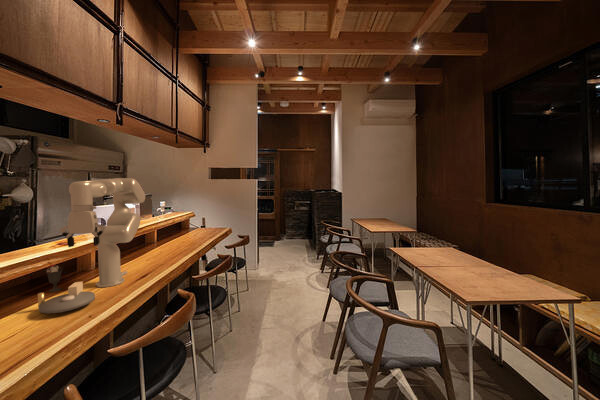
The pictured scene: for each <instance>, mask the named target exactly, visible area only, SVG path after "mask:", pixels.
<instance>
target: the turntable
mask: <svg viewBox="0 0 600 400" xmlns="http://www.w3.org/2000/svg"><path fill="white" fill-rule="evenodd" d="M83 283H84V281H75V282H74V283H72V284H71V285H69V286H68V287H67V293H65V294H61V295H58V296H55V297H51V298H49V299H47V300H45V302H43V303H41V304H40V305H39V310H38V311H39V312H40V313H41V314H57V313H59V314H60V313H65V312H64V311H67V312H70V311H69V310H71V311H74V310H76V309H78V308H81V307H84V306H86V305H89V304H91V303H93V302H94V301H95V299H96V294H95V293H94V292H93V291H83V290H84V284H83ZM73 309H74V310H73Z"/></svg>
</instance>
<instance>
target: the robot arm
mask: <svg viewBox="0 0 600 400" xmlns="http://www.w3.org/2000/svg"><path fill="white" fill-rule="evenodd" d="M68 192H69V194H70V203H71V205H70V206H71V211H70V212H69V214H68V219H67V221H68V222H67V225H65V226H62V227H61V228H59V232H60V233H61V235H62V236H64V237H65V239H66V240H67V246H68V248H71V247H74V246H75V237H74V236H75V235H82V234H83V235H85V234H91V235H93V246H95V247H96V246H97V259H98V278H99V279H98V280H99V281H97V282H96V283H95V286H96V287H97V288H109V287H114V286H118V285H121V284H123V283H124V282H125V278H124V277H123V276H125V275H127V274H128V270H124V271H122V268H121V251H120V250H121V249H120V248H119V246H118V245H117V244H125V243H130V242H131V241H132V240H133V239H134V237H135V236H136V234H137V232H138V230H139V228H140V224H141V217H140V215H138V213H134V212H131V209H130V207H128V206H127V204H129V205H131V204H143V203H144V202H145V200H146V193H145V191H144V190H143V188H142V186H141V184H140V183H139V182H138V181H137V180H136V179H135V178H132V177H129V178H128V177H127V178H126V177H125V178H124V177H114V178H107V179H104V178H103V179H95V180H93V179H92V180H82V181H72V183H70V184H69V187H68ZM110 195H112V202H113V208H114V210H112V211H113V212H112V213H111V214H110V215H109V217H108V219H107V221H106V225H102V224H100V223H99V221H98V217H97V212H96V211H95V210H96V209H97V206H96V205H94V200H93V199H94V198H101V197H104V196H110ZM66 230H67V231H68V232H67V231H66Z"/></svg>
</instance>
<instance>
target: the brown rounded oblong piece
mask: <svg viewBox="0 0 600 400" xmlns="http://www.w3.org/2000/svg"><path fill="white" fill-rule="evenodd" d="M45 301H46V300H45V292H38V293H37V305H38V311H39V305H40V304H41V303H43V302H45ZM74 310H75V309H73V310H69V311H64V312H63V313H66V312H71V311H74Z"/></svg>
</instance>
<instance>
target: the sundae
mask: <svg viewBox="0 0 600 400" xmlns="http://www.w3.org/2000/svg"><path fill="white" fill-rule="evenodd" d="M47 264H49V266H48V268H47V270H46V271H45V272H44V273H45V274H46V275H47V278H48V282H49V283H50V284H52V285H53V287H52V289H50V290H48V293H55V292H60V291H62V288H63V287H58V286H57V285H58V283H59V282H60V281H61V277H62V272H63V271H64V269H63V266H62V265H61V266H59V265H55V264H52V263H51V262H50V261H48V262H47Z"/></svg>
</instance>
